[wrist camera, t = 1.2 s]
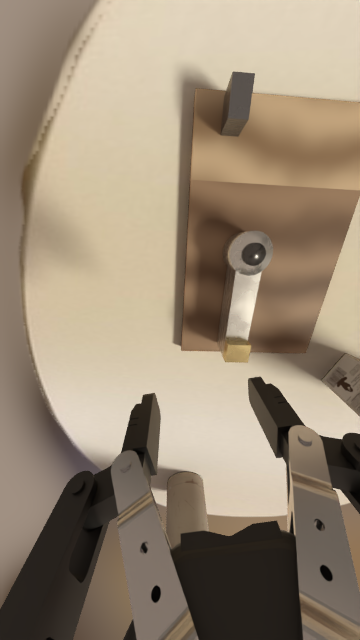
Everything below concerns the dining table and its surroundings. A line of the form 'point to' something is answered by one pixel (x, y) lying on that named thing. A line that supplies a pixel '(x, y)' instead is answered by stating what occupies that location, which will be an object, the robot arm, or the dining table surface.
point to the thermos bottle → (185, 506)
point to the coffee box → (346, 381)
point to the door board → (269, 211)
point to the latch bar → (241, 291)
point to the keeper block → (237, 103)
